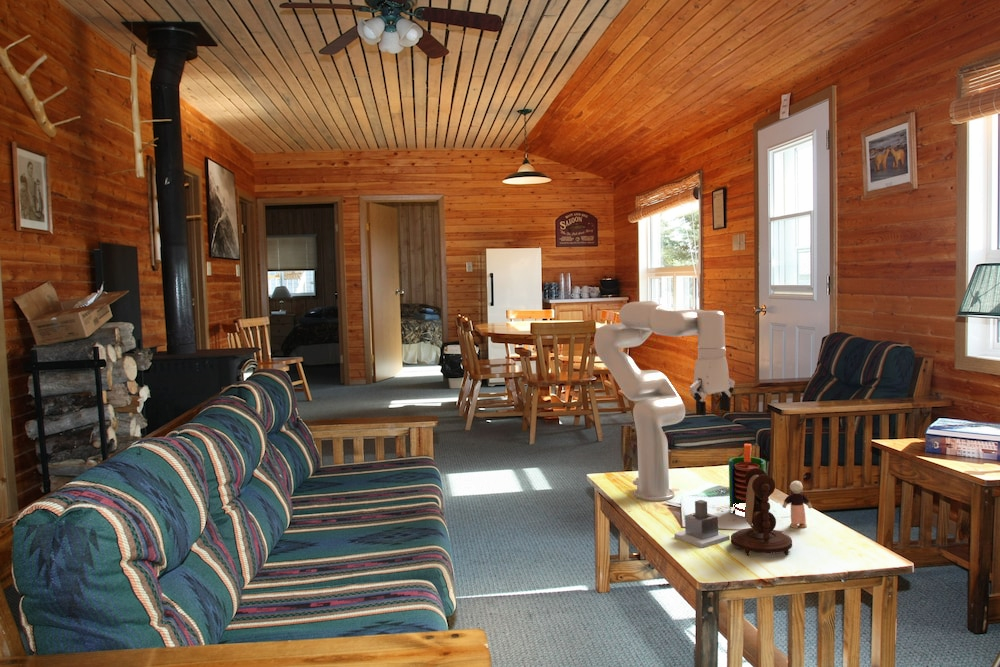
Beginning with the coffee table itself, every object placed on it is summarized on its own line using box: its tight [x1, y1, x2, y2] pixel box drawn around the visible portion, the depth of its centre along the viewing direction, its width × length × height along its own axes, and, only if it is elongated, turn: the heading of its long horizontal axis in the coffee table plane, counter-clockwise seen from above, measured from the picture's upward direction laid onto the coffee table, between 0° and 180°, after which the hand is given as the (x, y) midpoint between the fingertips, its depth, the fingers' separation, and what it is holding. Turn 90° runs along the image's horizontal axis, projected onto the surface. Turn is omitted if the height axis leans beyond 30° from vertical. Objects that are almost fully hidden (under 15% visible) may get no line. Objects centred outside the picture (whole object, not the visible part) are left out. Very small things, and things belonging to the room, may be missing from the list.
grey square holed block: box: [684, 512, 719, 540], centre depth 199 cm, size 6×6×5 cm
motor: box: [728, 443, 767, 512], centre depth 218 cm, size 10×9×20 cm
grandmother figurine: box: [781, 480, 813, 529], centre depth 205 cm, size 8×4×13 cm, turn 97°
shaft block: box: [674, 499, 731, 548], centre depth 199 cm, size 10×10×10 cm
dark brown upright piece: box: [730, 468, 793, 557], centre depth 190 cm, size 15×15×20 cm
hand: (713, 412), depth 216 cm, fingers open, 9 cm apart
